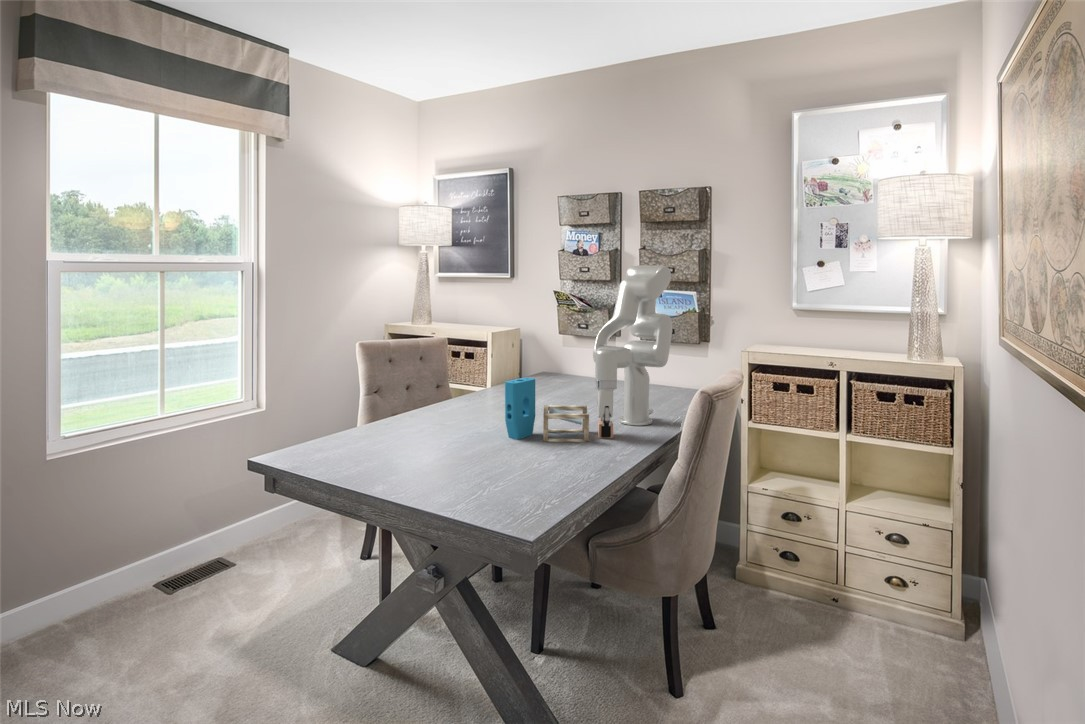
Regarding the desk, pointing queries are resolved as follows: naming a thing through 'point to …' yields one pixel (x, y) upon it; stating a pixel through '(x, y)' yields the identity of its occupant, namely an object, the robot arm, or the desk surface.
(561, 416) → the frame
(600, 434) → the terracotta block
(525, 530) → the desk surface
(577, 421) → the trapdoor plate
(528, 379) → the block
